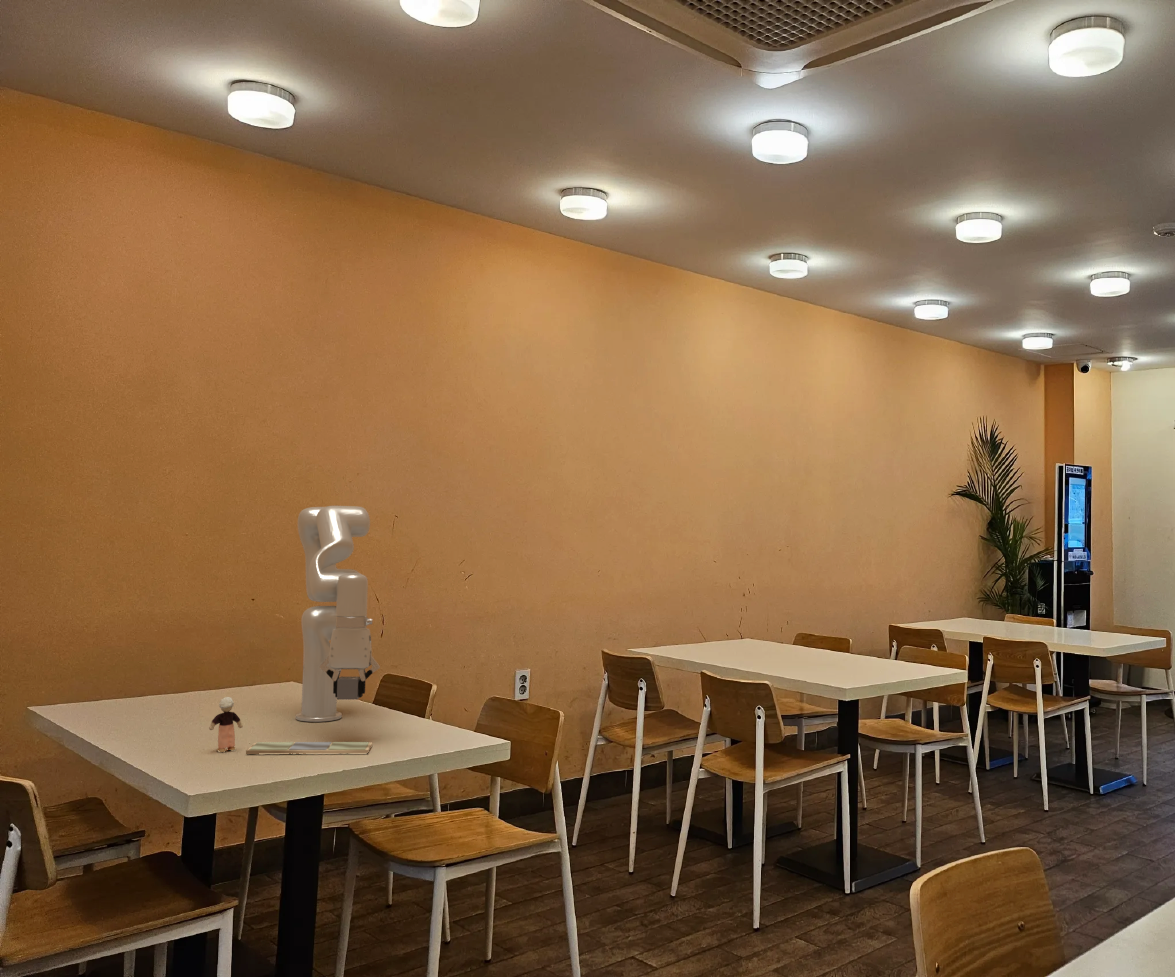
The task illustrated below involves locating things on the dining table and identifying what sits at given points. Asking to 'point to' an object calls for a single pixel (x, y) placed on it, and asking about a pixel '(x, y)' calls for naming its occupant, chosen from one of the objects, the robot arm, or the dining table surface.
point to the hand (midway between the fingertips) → (349, 695)
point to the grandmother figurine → (226, 725)
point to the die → (347, 688)
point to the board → (309, 747)
